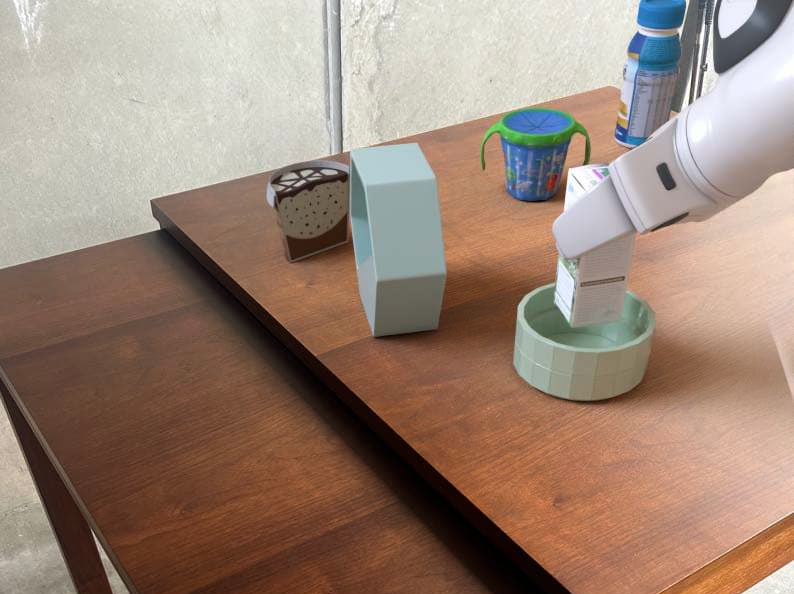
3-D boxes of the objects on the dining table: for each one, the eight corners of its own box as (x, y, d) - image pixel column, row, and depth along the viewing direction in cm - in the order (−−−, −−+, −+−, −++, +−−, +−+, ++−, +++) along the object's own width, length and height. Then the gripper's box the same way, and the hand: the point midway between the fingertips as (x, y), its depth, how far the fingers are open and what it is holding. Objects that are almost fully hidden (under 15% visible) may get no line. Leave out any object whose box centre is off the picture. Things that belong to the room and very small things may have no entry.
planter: (365, 339, 109) (342, 166, 105) (425, 332, 110) (405, 159, 106) (382, 334, 93) (357, 128, 88) (453, 325, 94) (431, 121, 89)
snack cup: (474, 204, 126) (477, 131, 118) (483, 174, 133) (487, 104, 126) (583, 211, 123) (593, 137, 116) (586, 181, 130) (596, 109, 123)
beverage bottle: (645, 155, 136) (671, 11, 122) (602, 141, 141) (622, 0, 127) (676, 140, 140) (705, -1, 126) (633, 127, 145) (656, -11, 131)
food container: (332, 223, 122) (327, 151, 115) (357, 239, 119) (353, 165, 112) (257, 249, 117) (246, 175, 110) (280, 266, 114) (271, 191, 107)
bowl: (640, 334, 100) (650, 283, 96) (649, 408, 90) (661, 355, 86) (515, 328, 102) (519, 277, 97) (510, 400, 92) (515, 347, 87)
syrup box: (622, 322, 90) (649, 183, 79) (568, 330, 89) (589, 190, 79) (601, 295, 94) (624, 159, 83) (549, 302, 93) (567, 165, 83)
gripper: (753, 99, 78) (645, 176, 90) (605, 162, 68) (507, 238, 81) (783, 164, 78) (671, 232, 91) (640, 234, 69) (537, 299, 81)
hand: (592, 235), depth 86 cm, fingers closed on syrup box, 7 cm apart
